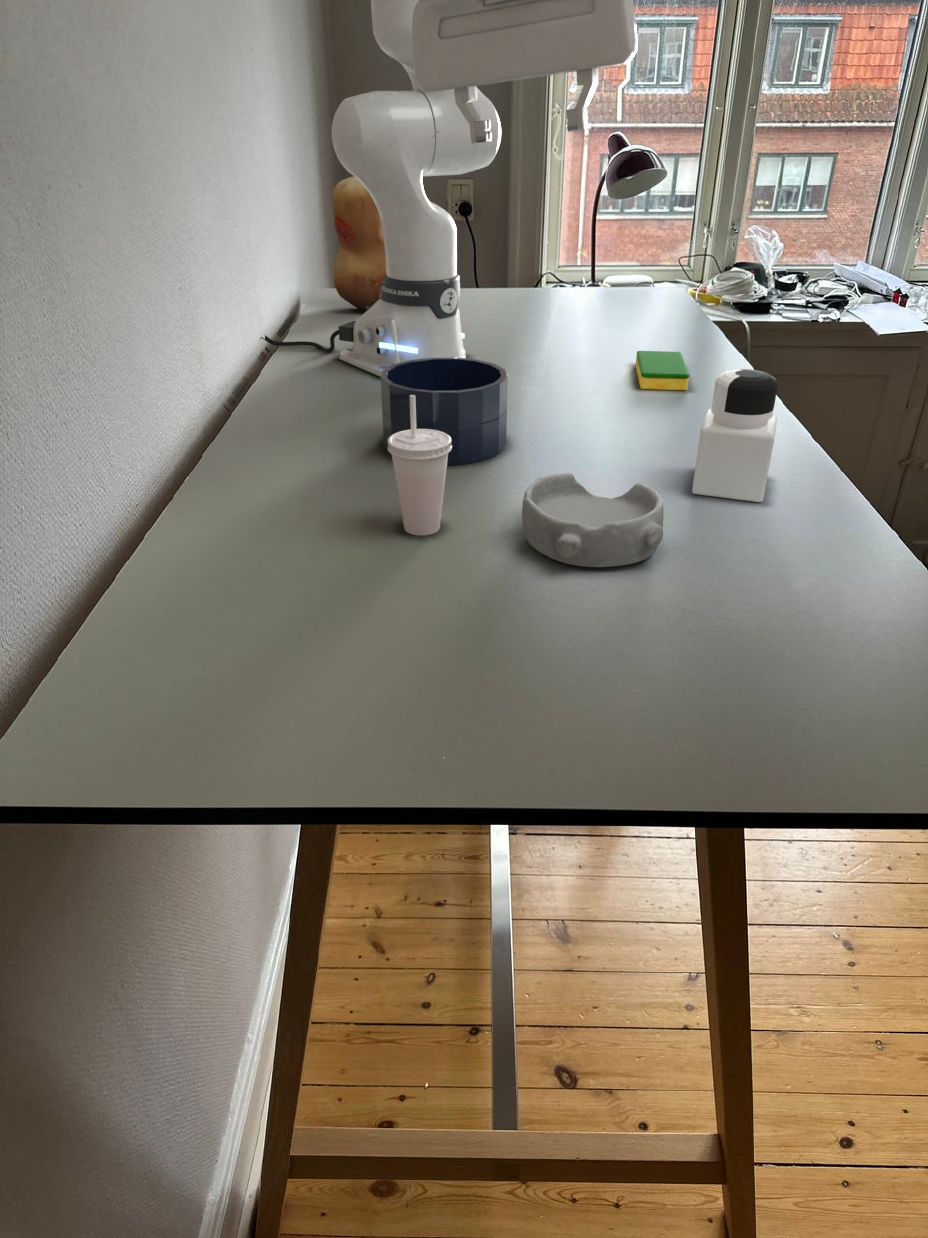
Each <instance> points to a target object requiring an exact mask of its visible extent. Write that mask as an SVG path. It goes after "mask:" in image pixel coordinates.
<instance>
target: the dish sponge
mask: <svg viewBox="0 0 928 1238" xmlns="http://www.w3.org/2000/svg"><path fill="white" fill-rule="evenodd" d="M684 359H685V358H684V356H683V354H682V352H680V351H662V350H661V351H660V350H637V351H636V357H635V368H636V374H637V379H638V383H639V388H640V389H642V390H660V391H661V390H662V391H663V390H664V391H687V390H688V389H689V382H690V373H689V370H688V368H687V365H686V362H685V360H684Z"/></svg>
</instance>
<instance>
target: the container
mask: <svg viewBox="0 0 928 1238" xmlns="http://www.w3.org/2000/svg"><path fill="white" fill-rule="evenodd" d="M714 381H715V382H714V388H713V395H712V402H711V408H709V409H707V411H706V415H705V417H704V419H703V423H702V426H701V428H700V432H699V439H698V445H697V452H696V453H697V455H696V460H695V466H694V467H695V468H694V475H693V481H692V489H691V491H692V494H693V495H699V496H707V497H714V498H724V499H730V500H731V499H732V500H738V501H747V502H755V503H761V502H762V501H763V500H764V497H765V491H766V487H767V480H768V475H769V470H770V465H771V459H772V454H773V449H774V444H775V437H776V432H777V431H776V430H777V424H778V423H777V422H778V417H777V415H776V414H774V411H775V410H774V409H775V404H776V399H777V393H778V388H779V382H778V380H777V379H776V377H774V376H773V375H770V374H769V373H768V372H765V371H762V370H757V369H749V368H735V369H730V370H729V369H728V370H727V371H723V372H720V373H719V374H718V375H717V377H716V378H715V379H714Z"/></svg>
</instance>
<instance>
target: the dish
mask: <svg viewBox="0 0 928 1238" xmlns="http://www.w3.org/2000/svg"><path fill="white" fill-rule="evenodd" d="M664 511H665V510H664V502H663V499H662V497H661V495H660V494H659V493H658V492H657V491H656V490H655V489H653V488H651V487H649V486H648V485H646V484H643V483H641V482H640V483H639V482H637V483H634V485H633V486H632V487H631V488H630V489H628V491H627V492H625V493H624V494H622V495H619V496H616V497H613V498H612V497H611V498H610V497H602V496H599V495H595V494H593V493H591V492H590V491H589V490H588V489H586V488H585V487H584V486H583V485H582V484H581V483H580V482H579V481H578V480H577V479H576V477H575V475H574V474H572V473H567V472H564V473H556V474H550V475H546V476H540V477H538V478H537V479H535V480H534V482H532V483H531V484H530V485H529V486H528V487H527V488H526V490H525V491H524V495H523V499H522V507H521V524H522V530H523V533H524V537H525V539H526V540H527V542H528V544H529V545H530V546H531V547H532V548H533V549H534V550H536V551H537V552H539V553H541V554H543V555H544V556H546V557H548V558H550V559H553V560H555V561H558V562H560V563H564V564H567V565H571V566H577V567H586V568H611V567H619V566H626V565H632V564H636V563H640V562H642V561H644V560H647V559H648V558H650V557H651V556H652V555H653V554H654V553H655V552H656V551H657V548H658V547H659V545H660V544H661V543H662V540H663V537H664V529H663V528H664V513H665V512H664Z"/></svg>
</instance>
